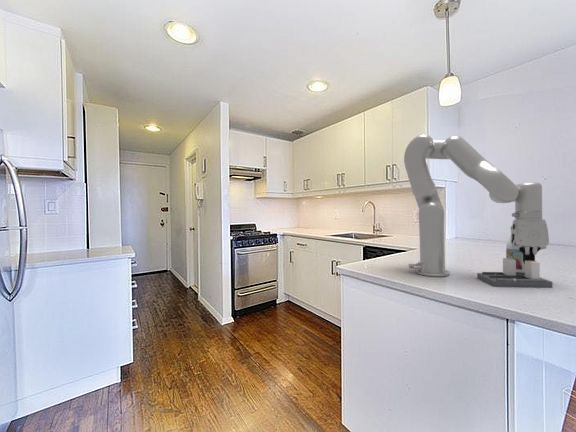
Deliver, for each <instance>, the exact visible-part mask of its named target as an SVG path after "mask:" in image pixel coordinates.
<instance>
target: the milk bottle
mask: <svg viewBox="0 0 576 432" xmlns="http://www.w3.org/2000/svg"><path fill="white" fill-rule="evenodd" d="M511 229H512V225H511V226H510V230H511ZM519 247H520V246H519ZM505 248H506V249H505V253H506V254H505V255H506V256H505V258H513V259H514V260H516V272H525V264H524V262H523V253H521V252H520V251H519V250H517V249H513V248H512V243H511V235H510V237H509V238H508V240H507V243H506V247H505ZM528 248H529V247H528Z"/></svg>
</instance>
